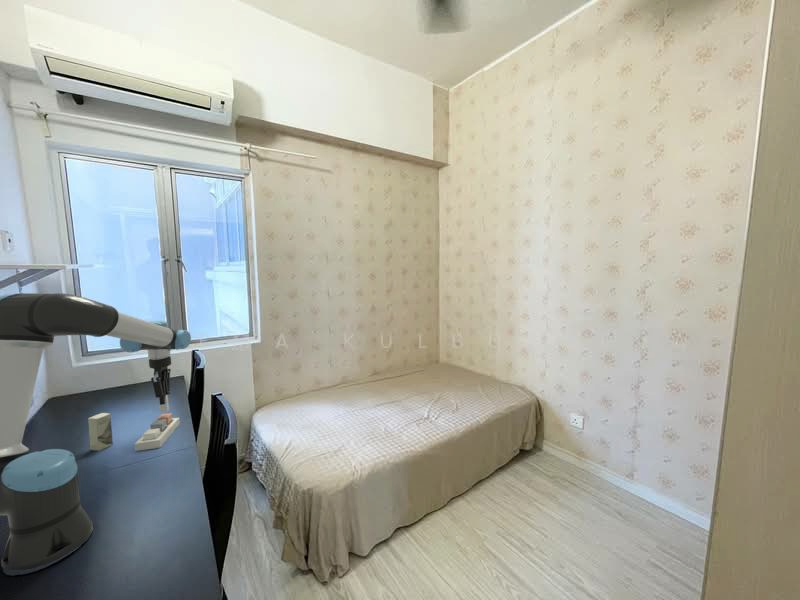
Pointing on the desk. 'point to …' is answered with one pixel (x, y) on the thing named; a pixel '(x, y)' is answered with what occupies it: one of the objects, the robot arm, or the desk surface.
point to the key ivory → (151, 434)
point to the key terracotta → (165, 417)
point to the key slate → (159, 424)
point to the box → (100, 431)
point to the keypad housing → (161, 439)
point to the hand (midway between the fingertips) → (164, 410)
